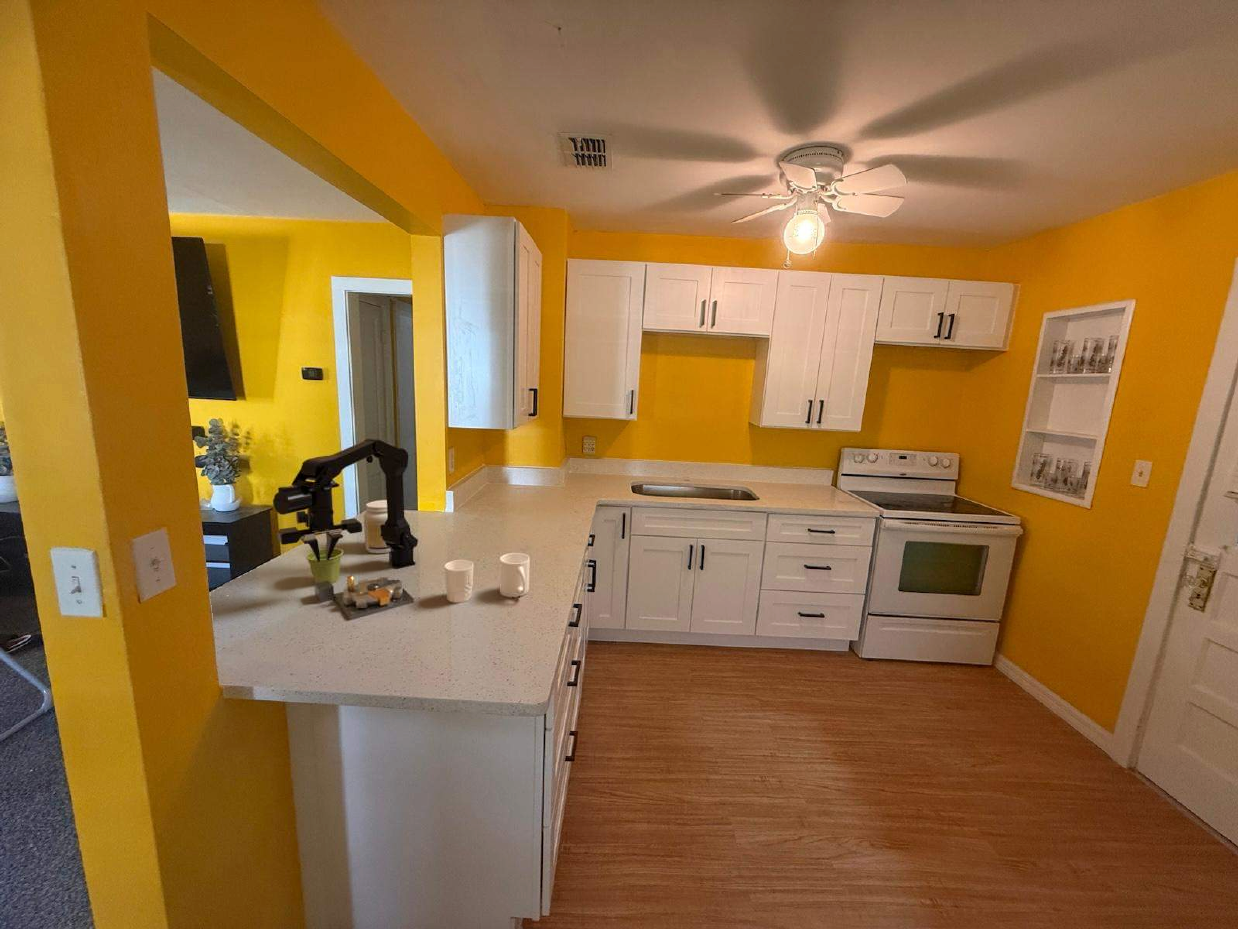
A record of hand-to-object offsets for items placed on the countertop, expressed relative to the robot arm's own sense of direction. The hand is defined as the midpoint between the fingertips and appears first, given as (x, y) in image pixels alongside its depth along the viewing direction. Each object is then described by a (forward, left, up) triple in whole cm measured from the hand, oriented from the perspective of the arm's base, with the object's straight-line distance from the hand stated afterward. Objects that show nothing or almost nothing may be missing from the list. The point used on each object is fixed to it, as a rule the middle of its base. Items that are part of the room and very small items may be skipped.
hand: (323, 560), depth 126 cm
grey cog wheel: (-10, +9, -10) cm, 16 cm away
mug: (-43, +30, -11) cm, 53 cm away
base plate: (-10, +9, -11) cm, 17 cm away
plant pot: (-3, -12, -11) cm, 17 cm away
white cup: (-29, +22, -11) cm, 38 cm away
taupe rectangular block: (0, 0, -11) cm, 11 cm away
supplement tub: (-25, -30, -11) cm, 41 cm away
